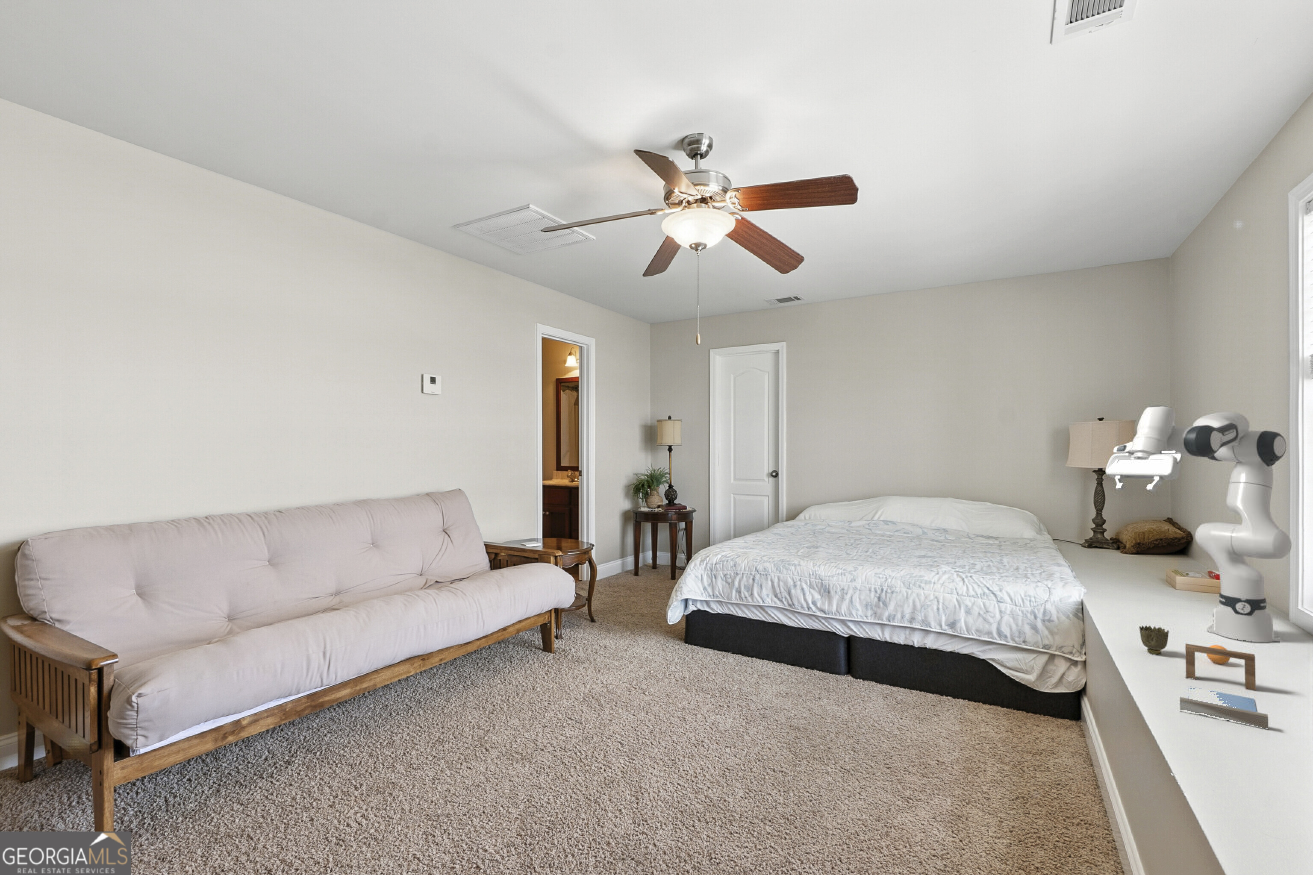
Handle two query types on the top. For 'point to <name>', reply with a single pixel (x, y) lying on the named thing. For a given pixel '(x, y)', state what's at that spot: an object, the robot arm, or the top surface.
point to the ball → (1217, 658)
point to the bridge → (1249, 658)
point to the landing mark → (1236, 701)
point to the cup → (1154, 639)
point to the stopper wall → (1225, 712)
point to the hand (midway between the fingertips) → (1134, 490)
